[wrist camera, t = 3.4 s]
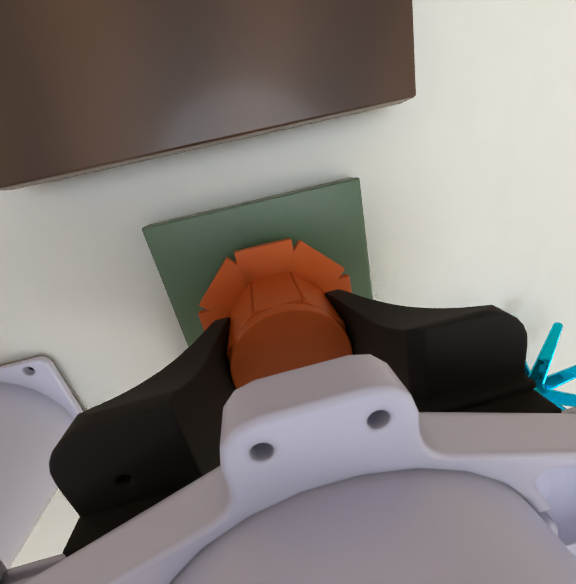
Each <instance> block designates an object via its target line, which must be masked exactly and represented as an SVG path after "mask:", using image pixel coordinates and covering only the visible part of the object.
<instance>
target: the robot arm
mask: <svg viewBox="0 0 576 584" xmlns="http://www.w3.org/2000/svg"><path fill="white" fill-rule="evenodd" d="M325 296H326V297H327V299H328V300H329V302H330V303H331V304H332V306H333V307H334V309H335V310H336V312H337V313H338V314H339V316H340V317H341V319H342V320H343V322H344V323H345V329H346V333H347V335H348V337H349V340H350V342H351V346H352V354H353V355H347V356H343V357H339V358H336V359H332V360H328V361H324V362H321V363H317V364H313V365H309V366H305V367H302V368H298V369H294V370H290V371H287V372H283V373H279V374H275V375H272V376H268V377H264V378H260V379H256V380H254V381H252V382H250V383H248V384H246V385H244V386H242V387H240V388H238V389H236V387H235V385H234V383H233V381H232V377H231V373H230V362H229V359H228V356H227V347H228V337H229V327H230V317H226V318H222V319H218V320H215V321H214V322H213V323H212V324H211V325H210V326H209V327H208V328H207V329H206V330H205V331H204V332H203V333H202V334H201V335H200V336H199V338H198V339H197V340H196V341H195V342H194V343H193V344H192V345H191V346H190V347H189V348H187V349H186V350H185V351H184V352H183V353H182V354H181V355H180V356H179V357H178V358H177V359H175V360H174V361H173V362H172V363H170V364H169V365H168V366H166V367H165V368H164V369H162V370H161V371H160V372H158V373H156V374H155V375H153V376H152V377H150V378H149V379H147V380H146V381H144V382H143V383H141V384H139V385H138V386H136V387H134V388H132V389H131V390H129V391H127V392H125V393H123V394H121V395H119V396H117V397H115V398H113V399H111V400H109V401H107V402H104V403H102V404H100V405H98V406H95V407H93V408H91V409H89V410H86V411H84V412H83V410H82V408H81V407H80V405H79V404H78V402H77V400H76V399H75V397H74V396H73V394H72V392H71V391H70V389H69V387H68V386H67V384H66V383H65V381H64V379H63V378H62V376H61V375H60V373H59V371H58V370H57V368H56V367H55V365H54V363H53V362H52V361H51V360H50V359H49V358H47V357H43V356H40V357H35V358H31V359H27V360H23V361H19V362H15V363H11V364H7V365H3V366H0V584H576V407H572V408H569V409H566V410H562V409H560V408H559V407H558V406H556V405H555V404H554V403H552V402H551V401H549V400H548V399H547V398H545V397H544V396H543V395H541V394H540V393H538V392H537V391H536V390H534V388H536V382H535V381H534V380H533V379H531V378H530V377H529V376H527V375H526V374H524V369H525V360H526V352H527V333H526V330H525V328H524V325H523V324H522V323H521V322H520V321H519V320H518V319H517V318H516V317H514V316H512V315H510V314H509V313H507V312H505V311H503V310H501V309H499V308H497V307H495V306H493V305H486V306H475V307H465V308H416V307H406V306H399V305H393V304H388V303H384V302H380V301H375V300H372V299H368V298H365V297H362V296H359V295H356V294H353V293H350V292H347V291H344V290H340V289H337V290H333V291H329V292H325ZM28 367H31V368H33V369H34V371H33V370H30V369H29V368H28ZM57 488H59V489H60V491H61V492H62V493H63V495H64V496H65V497H66V499H67V500H68V501H69V502H70V504H71V505H72V506H73V508H74V509H75V510H76V512H77V513H78V514H79V516H80V518H79V520H78V522H77V524H76V526H75V528H74V530H73V532H72V534H71V536H70V538H69V540H68V542H67V545H66V547H65V549H64V551H63V554H60V555H56V556H53V557H49V558H46V559H42V560H39V561H35V562H32V563H28V564H25V565H21V566H18V567H14V568H11V569H9V568H10V567H11V565H12V563H13V562H14V560H15V558H16V557H17V555H18V553H19V552H20V550H21V548H22V547H23V545H24V543H25V542H26V540H27V538H28V537H29V535H30V533H31V532H32V530H33V528H34V527H35V525H36V523H37V522H38V520H39V518H40V517H41V515H42V513H43V512H44V510H45V508H46V507H47V505H48V503H49V502H50V500H51V498H52V497H53V495H54V493H55V492H56V490H57Z"/></svg>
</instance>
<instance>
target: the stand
mask: <svg viewBox="0 0 576 584" xmlns="http://www.w3.org/2000/svg"><path fill="white" fill-rule="evenodd" d="M415 95H416V88H415V63H414V37H413V11H412V0H0V190H13V189H18V188H22V187H27V186H31V185H36V184H40V183H45V182H49V181H54V180H58V179H63V178H67V177H72V176H76V175H81V174H85V173H90V172H94V171H99V170H103V169H108V168H112V167H117V166H121V165H126V164H130V163H135V162H139V161H144V160H148V159H153V158H157V157H162V156H166V155H171V154H175V153H180V152H184V151H189V150H193V149H198V148H202V147H207V146H211V145H216V144H220V143H225V142H229V141H234V140H238V139H243V138H247V137H252V136H256V135H261V134H265V133H270V132H274V131H279V130H283V129H288V128H292V127H297V126H301V125H306V124H310V123H315V122H319V121H324V120H328V119H333V118H337V117H342V116H346V115H351V114H355V113H360V112H364V111H369V110H373V109H378V108H382V107H387V106H391V105H396V104H400V103H403V102H405V101H407V100H409V99H411V98H413V97H414V96H415Z"/></svg>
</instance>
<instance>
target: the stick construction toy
mask: <svg viewBox="0 0 576 584" xmlns="http://www.w3.org/2000/svg"><path fill="white" fill-rule="evenodd" d="M562 328H563V325H562V324H561V323H558V322H556V323H554V324H553V326H552V328H551V330H550V332H549V334H548V336H547V339H546V341H545V343H544V345H543V347H542V349H541V351H540V353H539V355H538V357H537V359H536V362H535V364H534V366H533V368H532V370H531V371H530V369H529V367H528V365H527V363H526V361H525V369H524V374H526V375H527V376H529V377H530V378H531V379H533V380H534V381H535V382H536V388H534V390H536V391H537V392H538V393H540V394H541V395H543V396H544V397H545V398H547V399H548V400H549V401H551V402H552V403H554V404H555V405H556V406H558V407H559V408H560V409H562V410H566V408H565V407H564V406H572V407H576V394H573V393H567V392H561V391H556V390H552V389H554V388H556V387H559V386H561V385H563V384H565V383H567V382H569V381H571V380H573V379H575V378H576V365H574V366H571V367H569V368H566V369H563V370H561V371H558V372H556V373H553V374H551V375H548V376H547V374H548V371H549V368H550V365H551V361H552V358H553V355H554V352H555V349H556V346H557V343H558V340H559V337H560V334H561V331H562ZM562 405H564V406H562Z"/></svg>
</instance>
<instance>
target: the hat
mask: <svg viewBox="0 0 576 584" xmlns="http://www.w3.org/2000/svg"><path fill="white" fill-rule="evenodd" d="M234 255H235V259H236V262H235V261H234V260H232V259H230V258H228V257H226V259H225V260H224V262H223V264H222V265H221V267H220V269H219V271H218V272H217V274H216V276H215V277H214V279H213V281H212V282H211V284H210V286H209V288H208V289H207V291H206V293H205V294H204V296H203V298H202V300H201V301H200V304H199V306H201V307H203V308H205V309H204V310H200V311H199V314H198V315H199V318H200V321H201V323H202V326H203V329H204V331H205V330H206V329H207V328H208V327H209V326H210V325H211V324H212V323H213V322H214V321H215V320H218V319H222V318H226V317H230V327H229V337H228V347H227V356H228V359H229V362H230V373H231V377H232V381H233V383H234V385H235V387H236V389H238V388H240V387H242V386H244V385H246V384H248V383H250V382H252V381H254V380H256V379H260V378H264V377H268V376H272V375H275V374H279V373H283V372H287V371H290V370H294V369H298V368H302V367H305V366H309V365H313V364H317V363H321V362H324V361H328V360H332V359H336V358H339V357H343V356H347V355H353V354H352V346H351V342H350V340H349V337H348V335H347V333H346V329H345V323H344V322H343V320H342V319H341V317H340V316H339V314H338V313H337V312H336V310H335V309H334V307H333V306H332V304H331V303H330V302H329V300H328V299H327V297H326V296H325V292H329V291H333V290H337V289H340V290H344V291H347V292H350V293H352V291H351V283H350V277H349V275H347V274H344V275H341V274H342V273H343V271H344V270H345V269H344V268H343V267H342V266H341V265H339V264H337V263H336V262H334V261H333V260H331V259H330V258H328V257H326V256H325V255H323V254H322V253H320V252H319V251H317V250H315V249H314V248H312V247H311V246H309V245H307V244H306V243H304V242H303V241H301V240H298V241H297V243H296V244H295V246H294V248H293V246H292V241H291V239H290V238H287V239H282V240H278V241H274V242H270V243H266V244H262V245H258V246H253V247H249V248H245V249H241V250H237V251H235V252H234Z"/></svg>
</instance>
